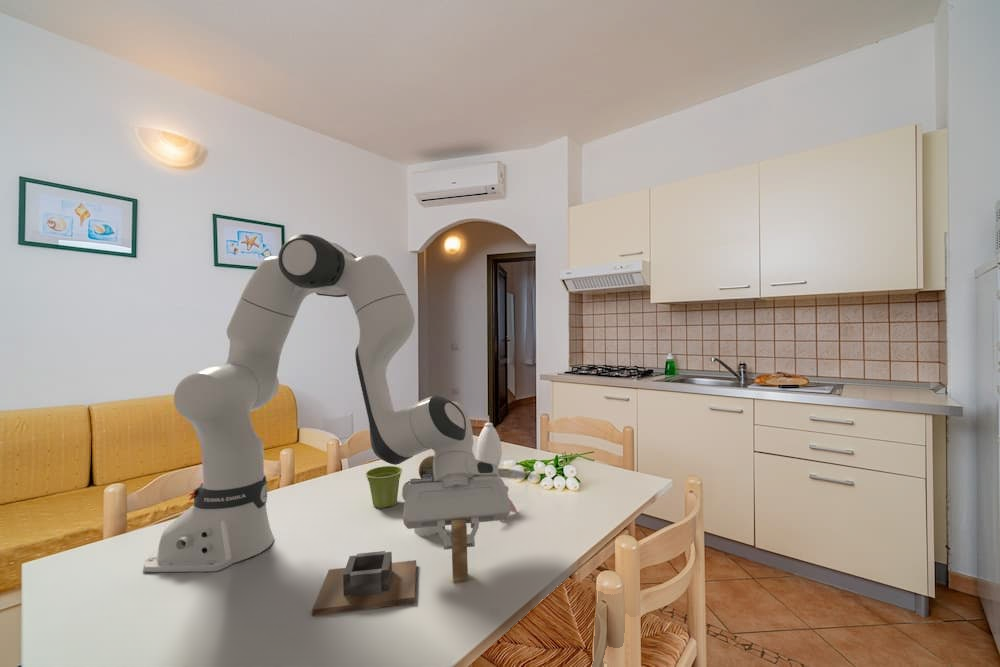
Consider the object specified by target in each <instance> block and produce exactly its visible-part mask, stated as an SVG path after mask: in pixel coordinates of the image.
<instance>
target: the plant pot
mask: <svg viewBox="0 0 1000 667" xmlns="http://www.w3.org/2000/svg"><path fill="white" fill-rule="evenodd" d="M402 473H403V468H402V467H400V466H396V465H384V466H377V467H373V468H370V469H369V470H367V471H366V472H365V477H366V479H367V482H368V484H369V489H370V495H371V500H372V505H373V507H374V508H376V507H377V508H378V509H385V508H387V507H390V506H391V507H393V506H395V505H396V504H397V502H398V494H399V486H400V478H401V474H402Z"/></svg>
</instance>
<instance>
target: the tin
mask: <svg viewBox="0 0 1000 667" xmlns="http://www.w3.org/2000/svg"><path fill="white" fill-rule="evenodd" d="M433 459H434V455H429V456H426V457H425V458H424V459H422V460H421V462H420V464H419V467H418V475H419V477H420V479H421V478H428V477H433Z"/></svg>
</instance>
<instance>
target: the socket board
mask: <svg viewBox="0 0 1000 667" xmlns="http://www.w3.org/2000/svg"><path fill="white" fill-rule="evenodd" d="M392 553H393V552H392V551H387V552H386V550H381V551H380V550H379V551H372V552H371V551H370V552H361V553H357V554H356V555H349V556H348V560H347V562H346V565H345V567H339V568H330V569H328V570H327V573H326V576H325V578H324V579H323V582H322V585H321V587H320V589H319V592H318V595H317V597H316V599H315V601H314V603H313V606H312V608H311V616H312V617H315V616H323V615H330V614H331V615H332V614H339V613H348V612H354V611H363V610H373V609H380V608H385V607H386V608H387V607H395V606H403V605H404V606H405V605H412V604H415V600H416V599H415V596H416V579H417V578H416V576H417V559H416V560H407V561H406V560H405V561H396V562H393V559H392V558H393V556H392Z"/></svg>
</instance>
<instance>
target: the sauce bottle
mask: <svg viewBox="0 0 1000 667" xmlns="http://www.w3.org/2000/svg"><path fill="white" fill-rule="evenodd" d="M502 451H503V449H502V442H501V439H500V435H499V433H498V431H497V430H496V428H495V427H494V424H493V423H492V422H490V416H489V415H487V422H486V423H485V422H484V427H483V428H482V429H481V431H480V433H479V436H478V440H477V445H476V456H477V460H480V461H484V462H488V463H493V464H496V465H497V466H498V467H499V466H500V462H501V460H502V454H503V452H502Z"/></svg>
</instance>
